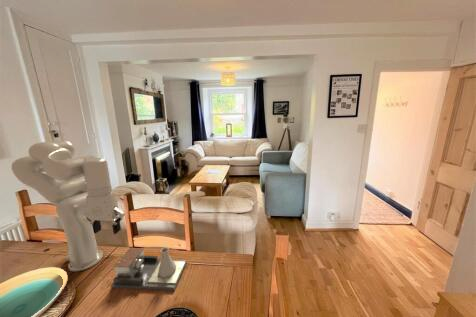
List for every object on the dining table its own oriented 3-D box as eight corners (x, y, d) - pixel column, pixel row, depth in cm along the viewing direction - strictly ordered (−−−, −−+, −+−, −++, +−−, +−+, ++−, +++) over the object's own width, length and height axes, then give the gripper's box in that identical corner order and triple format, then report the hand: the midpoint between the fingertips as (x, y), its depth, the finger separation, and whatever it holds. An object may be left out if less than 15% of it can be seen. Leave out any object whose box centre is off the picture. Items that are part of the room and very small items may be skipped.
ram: (116, 280, 76) (113, 265, 74) (132, 260, 85) (130, 248, 84) (135, 280, 75) (132, 266, 74) (148, 261, 85) (146, 248, 83)
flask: (179, 264, 82) (176, 244, 80) (171, 278, 75) (169, 256, 73) (163, 263, 83) (160, 243, 81) (154, 277, 76) (151, 255, 74)
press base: (111, 287, 74) (110, 280, 73) (133, 261, 88) (132, 254, 87) (174, 290, 72) (173, 283, 72) (186, 263, 86) (185, 256, 85)
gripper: (69, 194, 70) (79, 236, 74) (114, 194, 69) (122, 238, 73) (86, 186, 77) (94, 225, 81) (127, 187, 76) (133, 226, 80)
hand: (107, 231), depth 77 cm, fingers open, 7 cm apart
